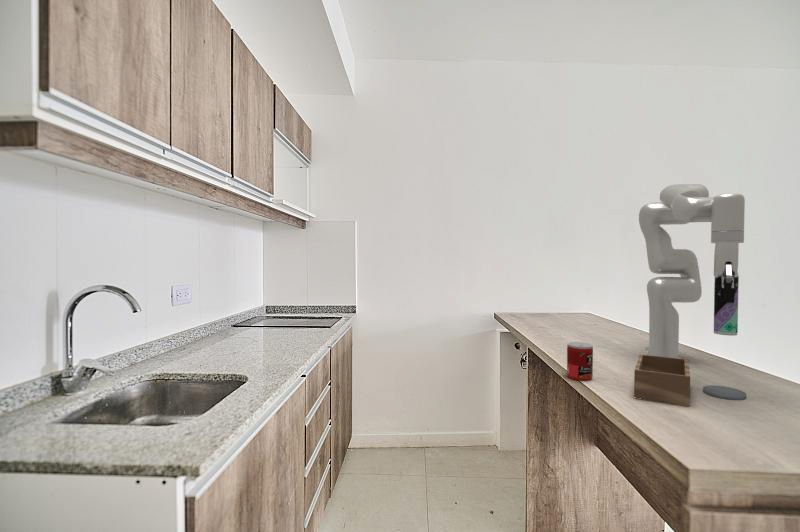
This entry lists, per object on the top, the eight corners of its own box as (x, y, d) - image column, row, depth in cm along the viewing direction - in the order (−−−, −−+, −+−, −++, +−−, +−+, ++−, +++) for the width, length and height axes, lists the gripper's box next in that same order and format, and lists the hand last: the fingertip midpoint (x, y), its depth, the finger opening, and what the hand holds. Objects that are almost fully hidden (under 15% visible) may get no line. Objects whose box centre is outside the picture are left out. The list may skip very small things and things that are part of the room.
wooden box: (639, 378, 141) (639, 354, 141) (687, 385, 134) (688, 359, 134) (634, 398, 122) (634, 369, 122) (689, 406, 115) (690, 376, 115)
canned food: (581, 382, 137) (582, 347, 137) (561, 376, 144) (561, 343, 144) (598, 379, 141) (598, 345, 140) (577, 373, 148) (578, 340, 148)
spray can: (715, 334, 124) (716, 264, 123) (712, 331, 128) (713, 263, 128) (739, 336, 121) (740, 264, 120) (735, 332, 126) (736, 263, 125)
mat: (694, 389, 130) (694, 385, 130) (726, 388, 131) (726, 385, 131) (722, 400, 120) (722, 397, 120) (755, 399, 121) (755, 395, 121)
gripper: (709, 239, 133) (708, 298, 134) (713, 237, 119) (712, 303, 119) (740, 238, 129) (738, 299, 130) (748, 236, 115) (746, 305, 115)
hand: (726, 300), depth 125 cm, fingers closed on spray can, 5 cm apart
